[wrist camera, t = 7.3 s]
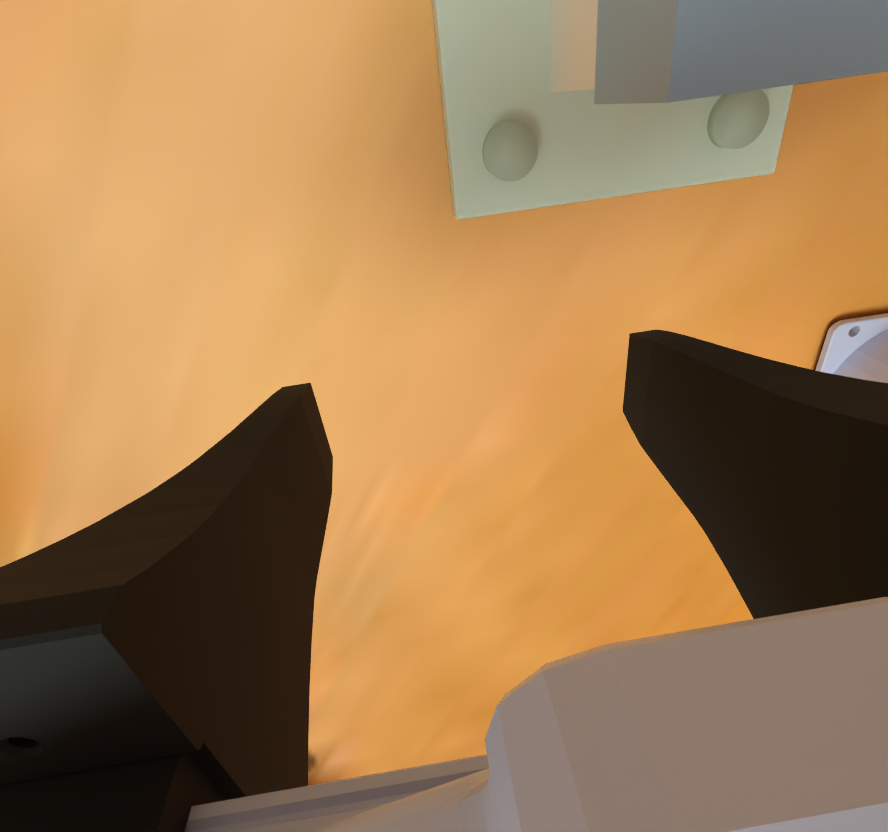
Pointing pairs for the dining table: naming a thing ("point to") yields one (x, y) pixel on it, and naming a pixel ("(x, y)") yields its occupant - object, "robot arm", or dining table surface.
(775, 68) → the blue block
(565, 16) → the cream block
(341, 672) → the dining table surface
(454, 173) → the baseplate
